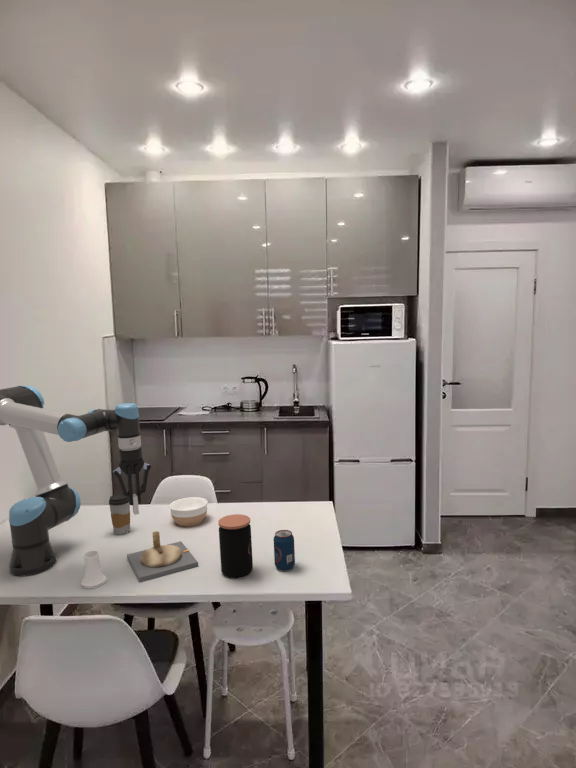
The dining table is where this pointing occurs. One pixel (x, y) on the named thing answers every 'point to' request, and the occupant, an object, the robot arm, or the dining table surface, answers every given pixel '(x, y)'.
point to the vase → (92, 571)
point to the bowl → (189, 510)
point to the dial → (160, 553)
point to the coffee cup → (120, 513)
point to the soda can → (284, 550)
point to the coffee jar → (235, 546)
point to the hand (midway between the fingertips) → (136, 513)
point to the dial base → (154, 572)
